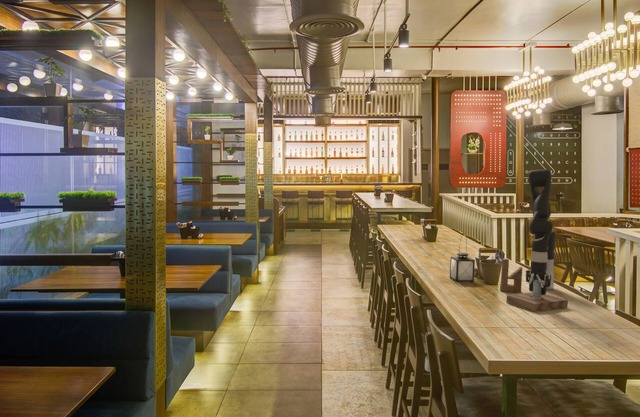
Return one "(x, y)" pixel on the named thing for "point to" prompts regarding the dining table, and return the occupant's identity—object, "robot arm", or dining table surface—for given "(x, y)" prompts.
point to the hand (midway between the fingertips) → (537, 292)
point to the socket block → (537, 302)
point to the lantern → (462, 267)
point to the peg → (536, 290)
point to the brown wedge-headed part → (515, 275)
